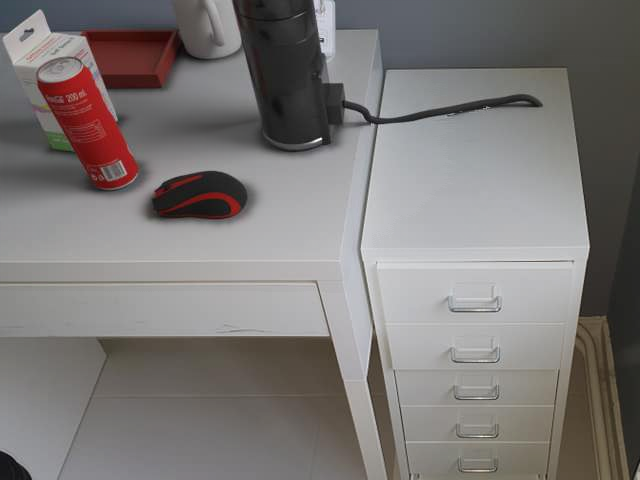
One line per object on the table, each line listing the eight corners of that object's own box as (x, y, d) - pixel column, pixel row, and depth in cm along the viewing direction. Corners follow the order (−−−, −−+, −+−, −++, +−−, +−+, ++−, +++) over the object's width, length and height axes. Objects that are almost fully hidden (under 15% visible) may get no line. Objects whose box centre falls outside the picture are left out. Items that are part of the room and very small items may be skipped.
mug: (179, 39, 114) (156, -35, 106) (232, 28, 117) (214, -45, 109) (200, 75, 108) (177, -1, 99) (256, 62, 110) (239, -13, 102)
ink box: (87, 155, 95) (35, 44, 83) (52, 150, 95) (-4, 39, 84) (120, 118, 100) (77, 10, 89) (87, 114, 101) (39, 5, 89)
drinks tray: (181, 42, 114) (177, 29, 112) (162, 87, 105) (157, 74, 104) (88, 43, 113) (83, 29, 112) (61, 88, 105) (55, 74, 103)
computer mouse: (161, 188, 91) (151, 160, 88) (251, 185, 91) (243, 158, 88) (151, 221, 87) (139, 193, 84) (244, 218, 87) (236, 190, 84)
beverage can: (150, 173, 92) (105, 61, 81) (108, 200, 89) (55, 87, 77) (118, 158, 94) (70, 46, 83) (76, 184, 91) (19, 70, 79)
